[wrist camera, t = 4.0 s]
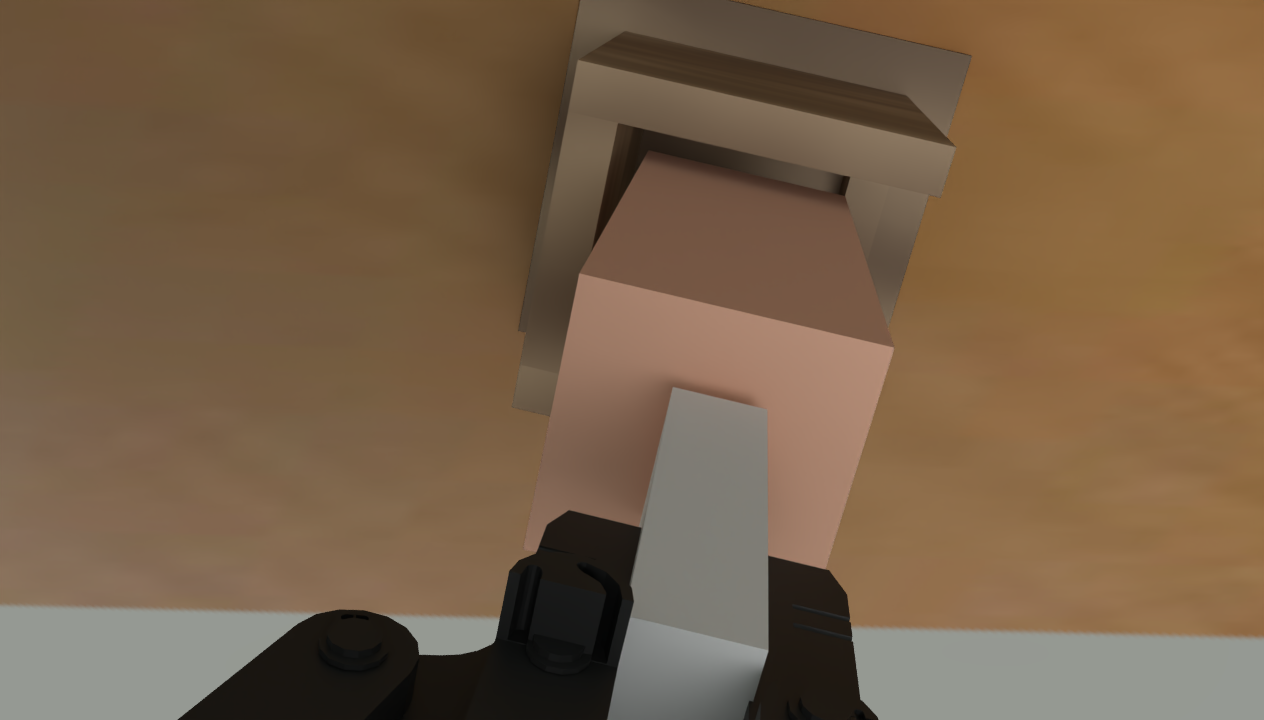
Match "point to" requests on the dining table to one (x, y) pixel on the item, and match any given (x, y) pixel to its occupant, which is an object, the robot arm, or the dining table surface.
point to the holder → (734, 135)
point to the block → (718, 346)
